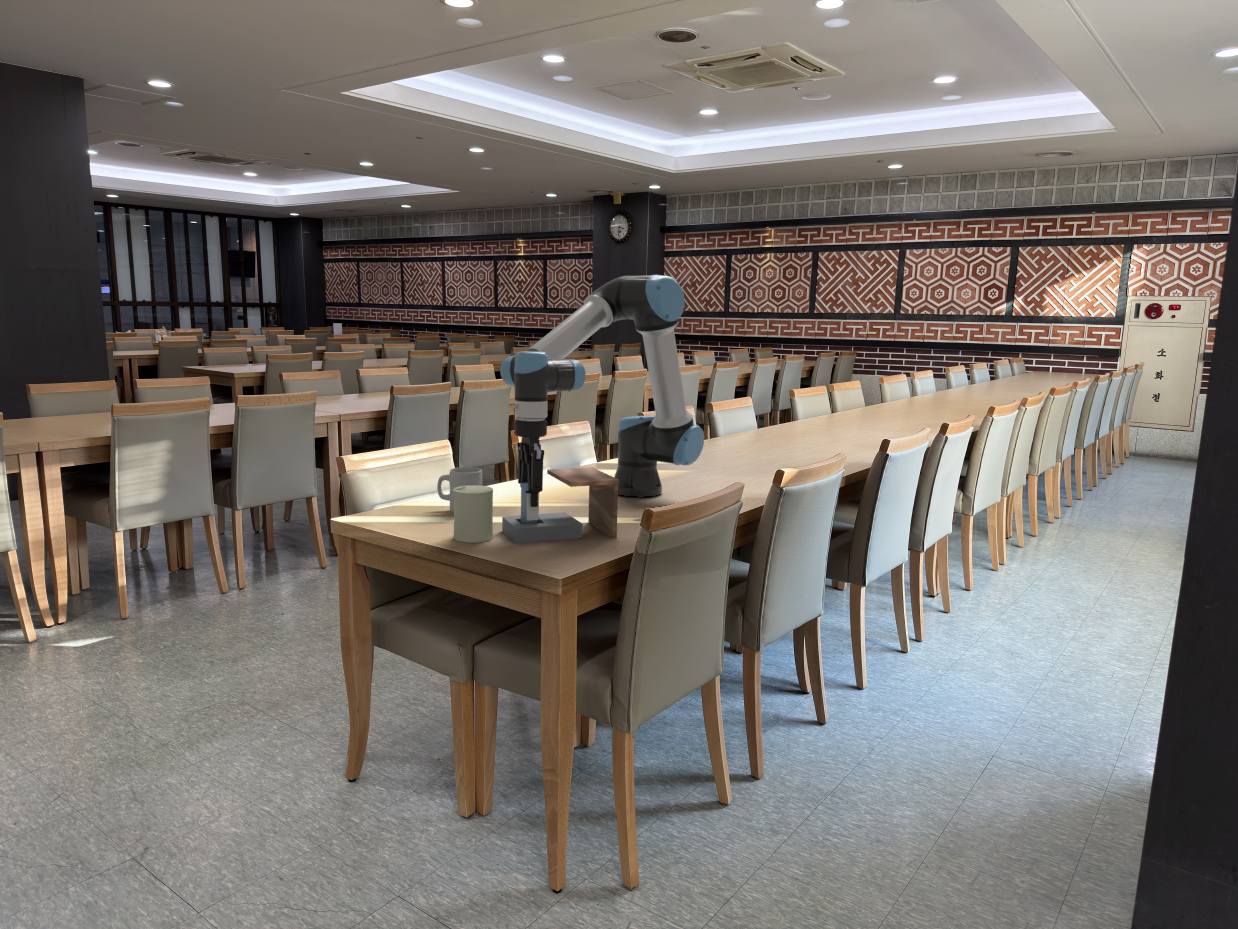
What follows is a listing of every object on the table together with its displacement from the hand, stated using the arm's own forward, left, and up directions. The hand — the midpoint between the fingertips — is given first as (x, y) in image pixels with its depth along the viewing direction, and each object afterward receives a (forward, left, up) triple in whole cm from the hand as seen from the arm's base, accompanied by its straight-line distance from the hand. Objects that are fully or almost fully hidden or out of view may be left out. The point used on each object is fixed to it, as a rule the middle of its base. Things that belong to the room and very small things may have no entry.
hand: (529, 517), depth 195 cm
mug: (+10, -30, -5) cm, 32 cm away
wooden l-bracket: (-13, 0, -4) cm, 14 cm away
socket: (-3, 0, -4) cm, 5 cm away
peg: (0, 0, -4) cm, 4 cm away
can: (+13, -2, -5) cm, 14 cm away
